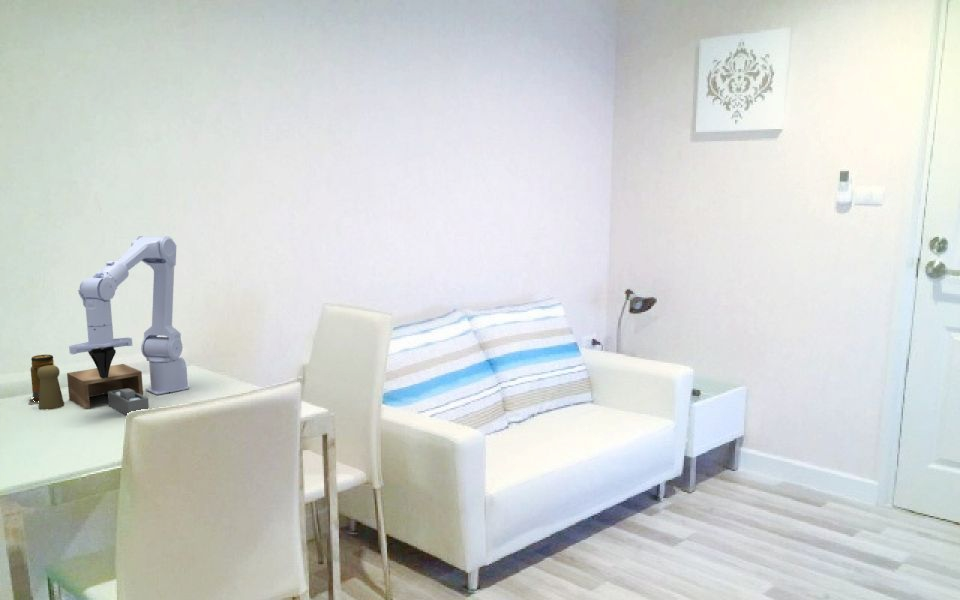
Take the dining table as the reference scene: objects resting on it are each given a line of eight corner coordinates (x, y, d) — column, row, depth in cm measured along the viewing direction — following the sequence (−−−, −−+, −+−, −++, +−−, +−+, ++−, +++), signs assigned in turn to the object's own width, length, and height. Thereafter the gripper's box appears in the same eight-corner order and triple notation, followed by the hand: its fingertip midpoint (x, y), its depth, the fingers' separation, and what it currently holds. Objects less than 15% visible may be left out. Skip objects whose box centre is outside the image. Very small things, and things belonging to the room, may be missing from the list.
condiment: (60, 394, 220) (56, 352, 218) (59, 401, 213) (55, 358, 211) (31, 397, 217) (26, 355, 215) (28, 404, 209) (24, 361, 208)
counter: (125, 389, 224) (123, 363, 223) (143, 397, 215) (141, 371, 214) (69, 399, 214) (66, 373, 213) (85, 409, 205) (83, 381, 204)
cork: (53, 410, 204) (49, 369, 203) (33, 409, 205) (29, 368, 204) (69, 403, 210) (66, 364, 208) (50, 402, 211) (46, 363, 210)
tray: (128, 402, 211) (126, 383, 210) (149, 413, 201) (147, 393, 200) (108, 406, 207) (107, 387, 207) (129, 417, 198) (127, 397, 197)
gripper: (74, 330, 188) (78, 385, 190) (135, 323, 198) (139, 375, 200) (64, 327, 193) (69, 380, 195) (124, 319, 203) (128, 370, 205)
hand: (104, 377), depth 198 cm, fingers closed
